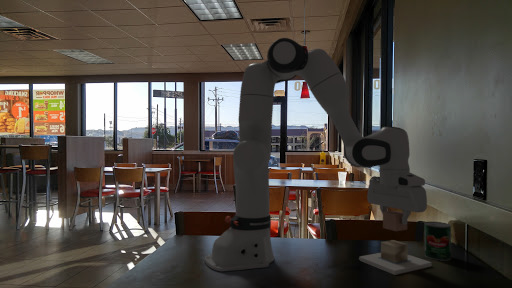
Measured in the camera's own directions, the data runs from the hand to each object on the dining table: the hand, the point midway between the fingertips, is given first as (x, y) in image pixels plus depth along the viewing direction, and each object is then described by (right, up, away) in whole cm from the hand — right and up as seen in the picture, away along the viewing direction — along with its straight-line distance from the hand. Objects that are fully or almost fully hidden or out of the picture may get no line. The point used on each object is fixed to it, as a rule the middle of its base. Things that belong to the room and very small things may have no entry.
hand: (394, 222), depth 107 cm
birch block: (0, -12, 0) cm, 12 cm away
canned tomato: (+17, -13, +6) cm, 22 cm away
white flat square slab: (0, -13, 0) cm, 13 cm away
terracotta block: (0, -2, 0) cm, 2 cm away
